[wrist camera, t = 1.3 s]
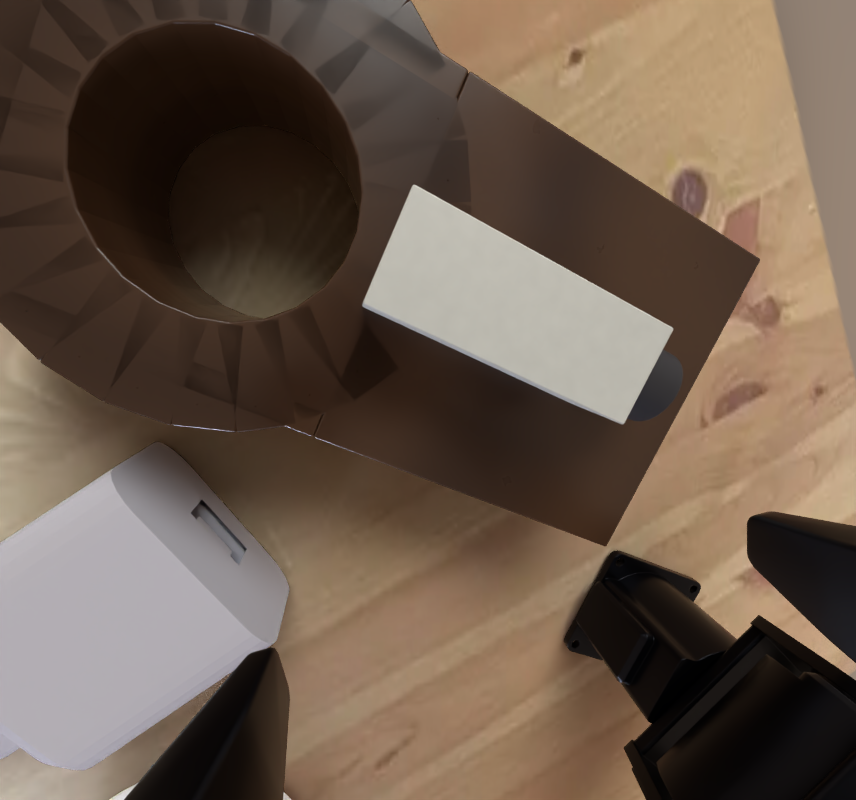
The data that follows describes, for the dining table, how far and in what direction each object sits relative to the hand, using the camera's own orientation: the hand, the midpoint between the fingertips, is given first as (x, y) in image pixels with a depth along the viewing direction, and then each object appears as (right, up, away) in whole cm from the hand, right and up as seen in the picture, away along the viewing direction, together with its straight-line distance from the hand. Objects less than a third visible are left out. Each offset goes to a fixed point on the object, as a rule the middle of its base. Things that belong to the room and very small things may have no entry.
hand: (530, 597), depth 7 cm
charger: (-17, -6, +12) cm, 22 cm away
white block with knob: (+1, +6, +6) cm, 9 cm away
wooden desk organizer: (-4, +9, +11) cm, 15 cm away
